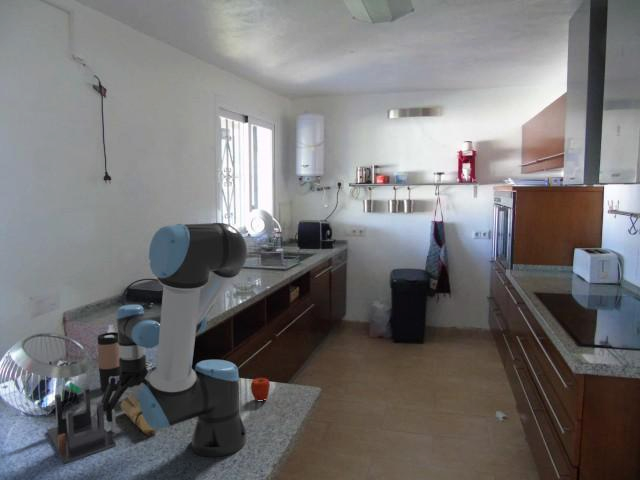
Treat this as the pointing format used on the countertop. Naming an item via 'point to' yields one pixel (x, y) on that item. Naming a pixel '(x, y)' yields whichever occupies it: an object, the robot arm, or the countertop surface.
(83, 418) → the dark grey pronged rack
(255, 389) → the apple
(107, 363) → the travel mug
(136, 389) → the can
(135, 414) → the tube
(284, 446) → the countertop surface
